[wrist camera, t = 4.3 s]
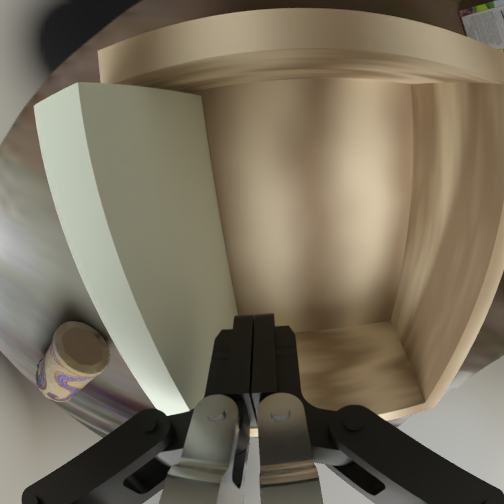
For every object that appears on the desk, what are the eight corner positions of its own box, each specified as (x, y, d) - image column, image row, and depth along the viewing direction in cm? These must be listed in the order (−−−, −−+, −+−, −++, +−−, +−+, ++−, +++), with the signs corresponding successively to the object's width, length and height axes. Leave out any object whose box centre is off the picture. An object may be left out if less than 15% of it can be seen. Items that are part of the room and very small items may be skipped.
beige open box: (406, 70, 15) (522, 62, 5) (391, 309, 26) (434, 407, 15) (188, 78, 17) (97, 51, 6) (232, 324, 27) (218, 435, 17)
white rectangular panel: (201, 95, 14) (78, 82, 4) (241, 334, 23) (229, 470, 13) (169, 102, 15) (18, 114, 4) (218, 335, 23) (196, 468, 13)
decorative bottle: (71, 306, 28) (43, 344, 22) (119, 344, 30) (99, 386, 24) (36, 368, 37) (21, 394, 31) (67, 392, 40) (55, 419, 34)
